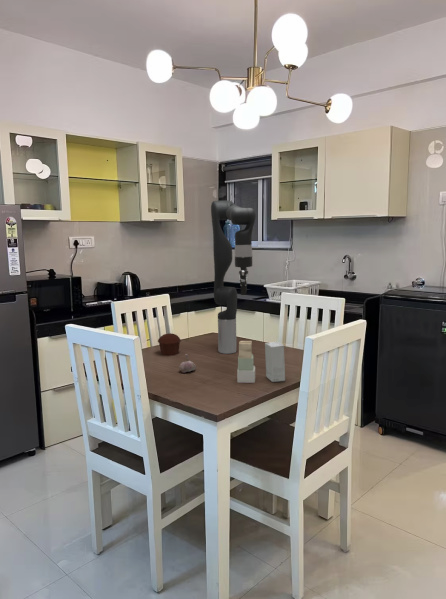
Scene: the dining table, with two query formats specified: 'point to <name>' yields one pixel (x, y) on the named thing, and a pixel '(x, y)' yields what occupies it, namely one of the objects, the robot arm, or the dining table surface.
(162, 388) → the dining table surface
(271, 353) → the skincare box
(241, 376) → the grey base block
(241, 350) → the beige metal block
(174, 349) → the muffin
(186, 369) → the garlic bulb
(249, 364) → the sage block
